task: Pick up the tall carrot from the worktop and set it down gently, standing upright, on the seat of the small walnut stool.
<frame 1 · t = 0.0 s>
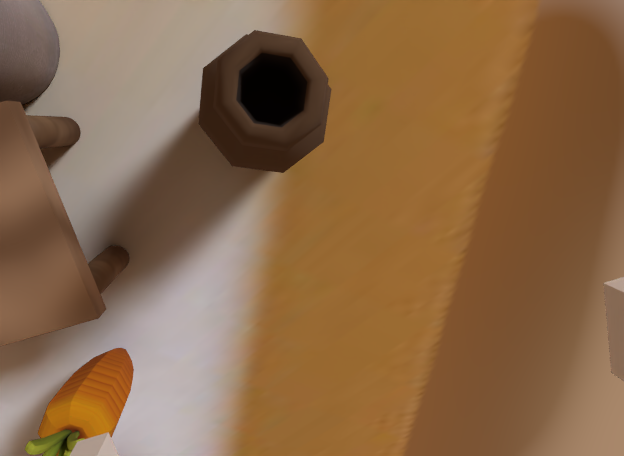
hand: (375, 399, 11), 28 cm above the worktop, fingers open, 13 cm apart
walnut stool: (25, 214, 36), on the worktop
carrot: (123, 350, 40), on the worktop
beer bottle: (262, 112, 36), on the worktop
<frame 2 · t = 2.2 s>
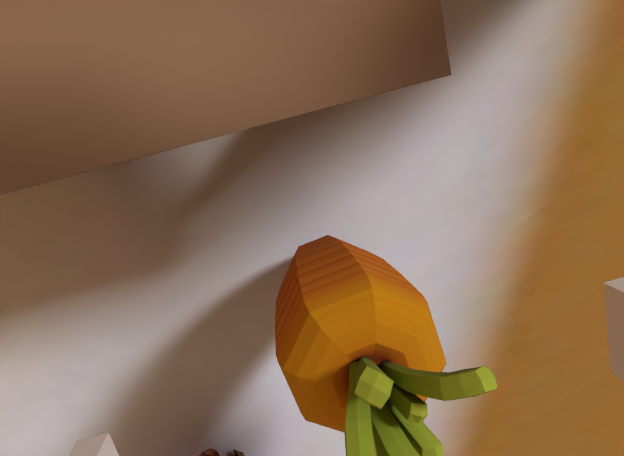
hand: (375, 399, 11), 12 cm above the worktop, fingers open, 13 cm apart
carrot: (316, 251, 23), on the worktop
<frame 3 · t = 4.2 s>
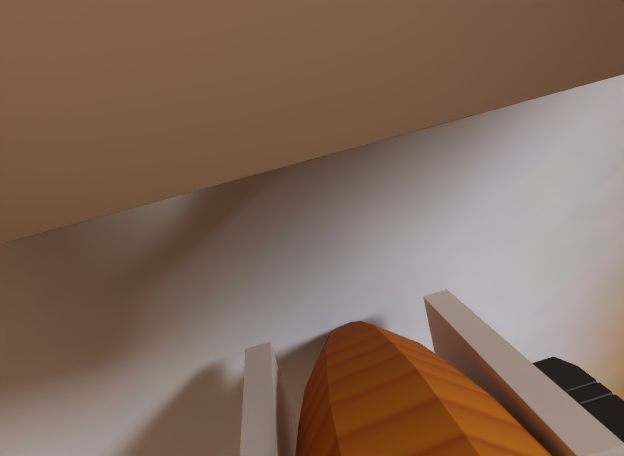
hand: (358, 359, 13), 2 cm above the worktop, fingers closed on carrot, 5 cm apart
carrot: (345, 329, 15), on the worktop, touching gripper
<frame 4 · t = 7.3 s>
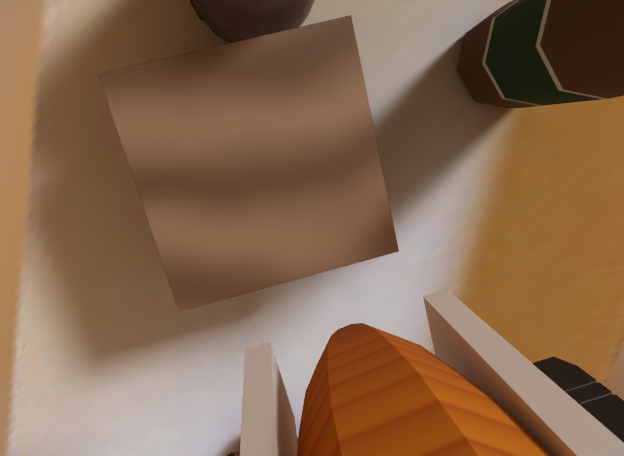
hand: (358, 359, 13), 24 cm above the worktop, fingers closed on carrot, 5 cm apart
walnut stool: (259, 160, 35), on the worktop
carrot: (346, 331, 15), point 22 cm above the worktop, touching gripper
beer bottle: (497, 61, 36), on the worktop
when the fingers open (13 cm above the worktop, at t = 10.5 s): carrot drops 1 cm, resting on walnut stool.
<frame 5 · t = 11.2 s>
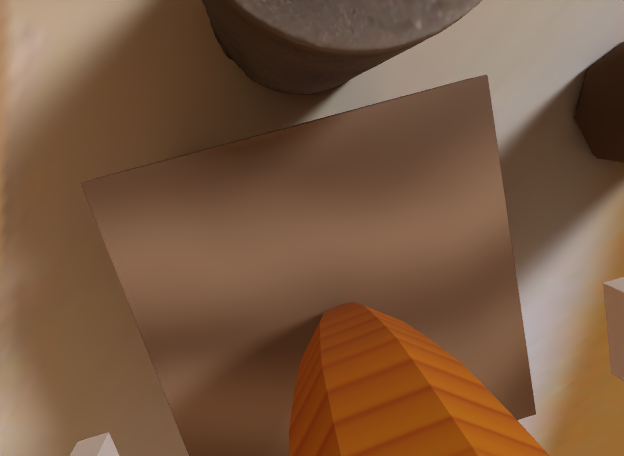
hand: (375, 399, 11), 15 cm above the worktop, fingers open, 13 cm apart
walnut stool: (308, 243, 26), on the worktop
carrot: (338, 311, 16), point 10 cm above the worktop, touching walnut stool
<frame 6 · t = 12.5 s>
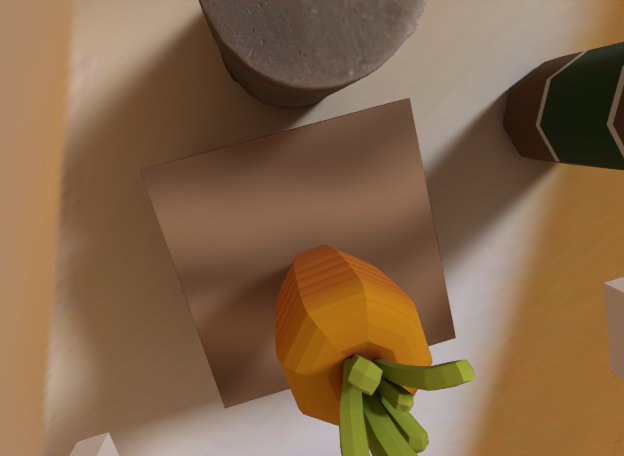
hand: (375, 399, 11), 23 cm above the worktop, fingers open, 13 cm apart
walnut stool: (296, 223, 33), on the worktop
carrot: (312, 260, 24), point 10 cm above the worktop, touching walnut stool
beer bottle: (544, 113, 34), on the worktop
pillar candle: (288, 36, 30), on the worktop
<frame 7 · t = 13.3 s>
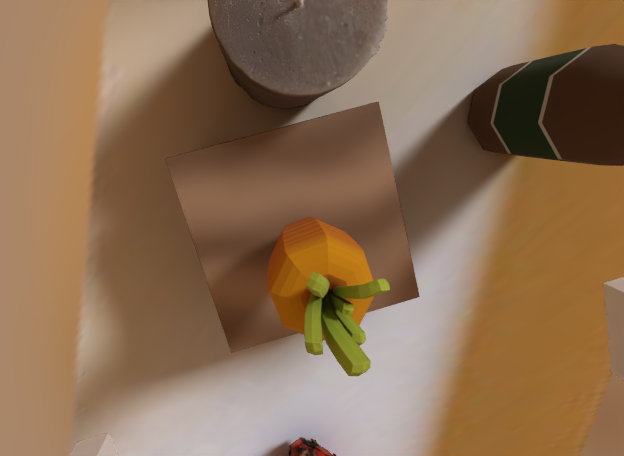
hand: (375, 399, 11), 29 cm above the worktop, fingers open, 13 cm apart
walnut stool: (290, 206, 39), on the worktop
carrot: (301, 231, 29), point 10 cm above the worktop, touching walnut stool
beer bottle: (503, 112, 40), on the worktop
pillar candle: (284, 47, 36), on the worktop
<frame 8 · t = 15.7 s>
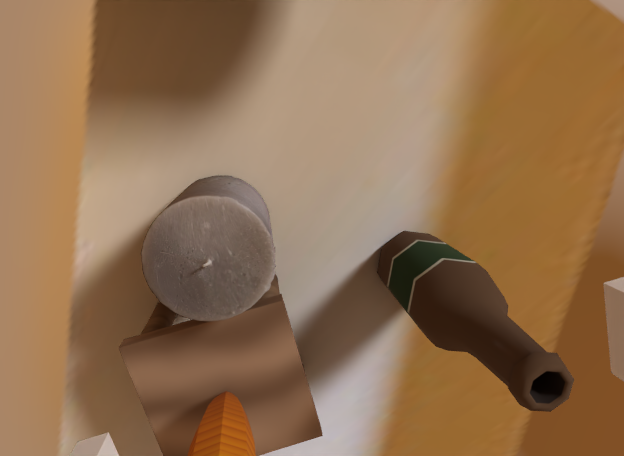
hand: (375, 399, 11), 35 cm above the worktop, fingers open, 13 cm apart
walnut stool: (232, 339, 48), on the worktop
carrot: (226, 392, 38), point 10 cm above the worktop, touching walnut stool
beer bottle: (408, 261, 48), on the worktop
pillar candle: (223, 220, 45), on the worktop
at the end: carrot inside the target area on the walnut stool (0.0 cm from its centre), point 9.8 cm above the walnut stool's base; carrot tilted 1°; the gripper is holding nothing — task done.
